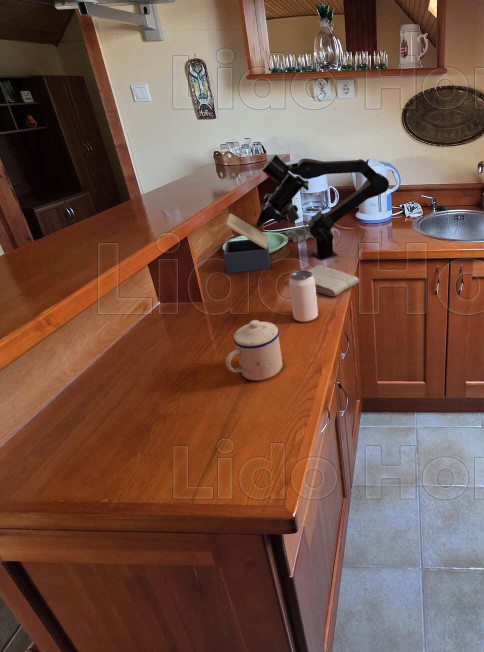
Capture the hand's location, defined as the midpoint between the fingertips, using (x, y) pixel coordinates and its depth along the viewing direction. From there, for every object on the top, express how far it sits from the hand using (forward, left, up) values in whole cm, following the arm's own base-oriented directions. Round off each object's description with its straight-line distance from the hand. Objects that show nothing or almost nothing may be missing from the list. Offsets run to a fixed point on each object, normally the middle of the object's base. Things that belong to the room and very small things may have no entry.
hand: (257, 226), depth 140 cm
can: (-44, +2, -13) cm, 46 cm away
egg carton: (+16, -21, -13) cm, 30 cm away
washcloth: (-29, -11, -13) cm, 33 cm away
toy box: (+1, +4, -13) cm, 14 cm away
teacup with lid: (-60, +20, -13) cm, 64 cm away
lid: (+1, +3, -2) cm, 4 cm away
